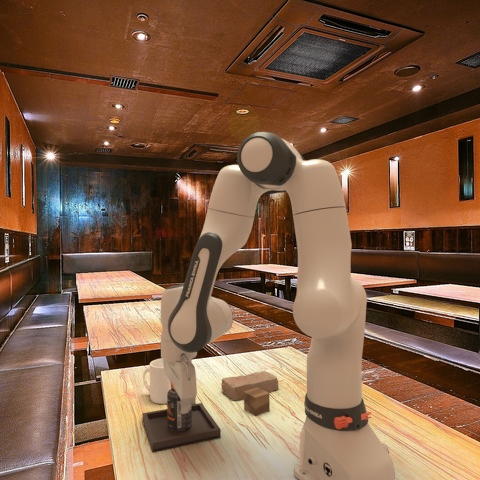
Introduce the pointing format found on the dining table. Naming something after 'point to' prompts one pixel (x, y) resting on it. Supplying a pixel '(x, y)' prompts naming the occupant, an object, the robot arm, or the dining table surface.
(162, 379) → the mug
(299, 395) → the dining table surface
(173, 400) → the pill bottle
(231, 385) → the brick
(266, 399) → the walnut cube
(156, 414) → the tray
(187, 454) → the dining table surface
